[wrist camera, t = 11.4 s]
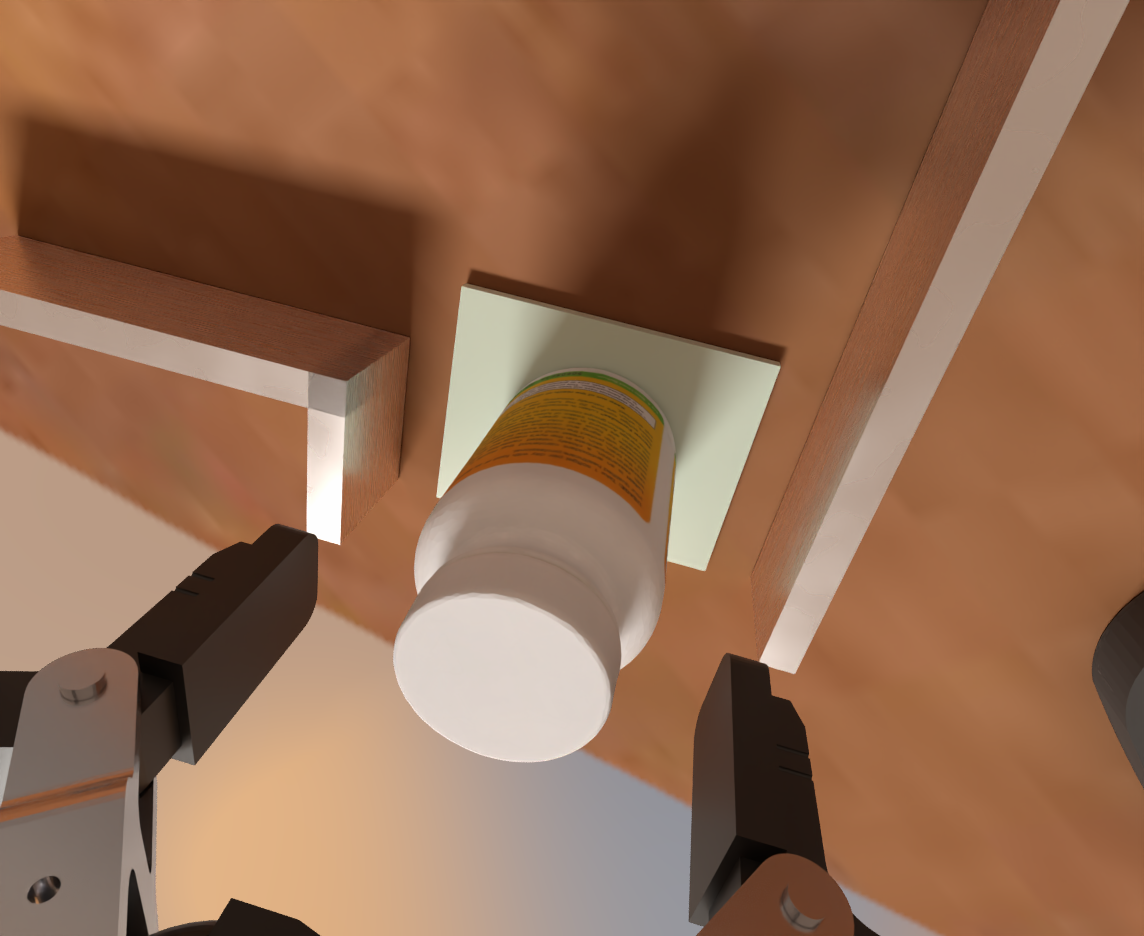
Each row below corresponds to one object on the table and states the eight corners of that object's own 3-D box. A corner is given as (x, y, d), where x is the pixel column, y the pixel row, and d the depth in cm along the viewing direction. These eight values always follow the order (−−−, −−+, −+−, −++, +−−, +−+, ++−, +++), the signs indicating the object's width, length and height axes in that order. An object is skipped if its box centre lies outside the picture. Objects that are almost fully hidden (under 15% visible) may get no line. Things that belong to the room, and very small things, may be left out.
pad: (466, 283, 19) (461, 286, 19) (779, 362, 18) (780, 366, 18) (440, 491, 22) (436, 497, 22) (704, 563, 22) (704, 571, 21)
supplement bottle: (471, 393, 20) (296, 590, 11) (643, 338, 18) (587, 520, 10) (539, 541, 22) (431, 804, 13) (699, 504, 20) (693, 776, 12)
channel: (-100, -368, 15) (-353, -523, 11) (1101, -137, 13) (1246, -235, 9) (45, 382, 23) (-74, 427, 20) (781, 584, 22) (794, 674, 18)
